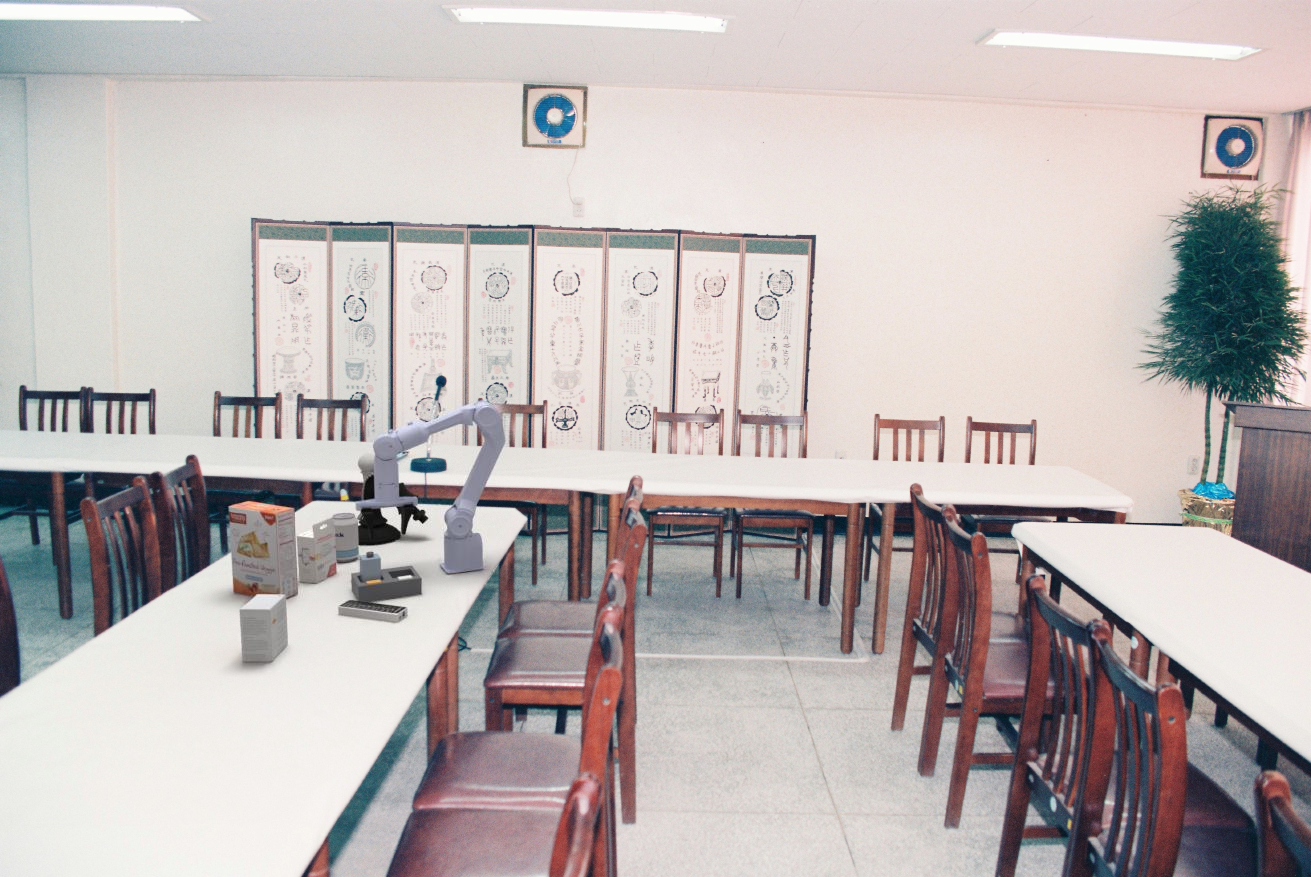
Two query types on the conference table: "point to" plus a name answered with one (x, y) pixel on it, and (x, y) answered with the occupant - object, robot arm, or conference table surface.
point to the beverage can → (346, 537)
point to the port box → (388, 585)
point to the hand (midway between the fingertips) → (387, 535)
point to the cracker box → (263, 549)
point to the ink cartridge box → (317, 552)
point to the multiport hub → (373, 611)
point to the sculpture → (381, 529)
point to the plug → (370, 567)
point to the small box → (263, 627)
